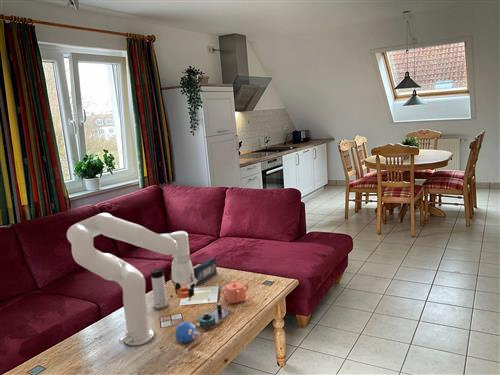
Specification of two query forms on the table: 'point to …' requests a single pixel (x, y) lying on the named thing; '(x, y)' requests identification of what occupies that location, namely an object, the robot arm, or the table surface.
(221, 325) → the table surface
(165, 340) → the table surface
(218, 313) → the stand
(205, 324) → the teal faceted ring
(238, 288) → the teapot
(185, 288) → the orange octagonal ring
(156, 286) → the travel mug
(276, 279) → the table surface
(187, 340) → the toy whale
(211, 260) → the vhs cassette tape
